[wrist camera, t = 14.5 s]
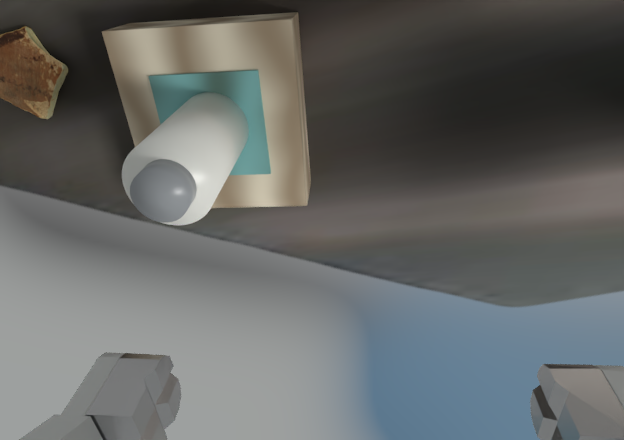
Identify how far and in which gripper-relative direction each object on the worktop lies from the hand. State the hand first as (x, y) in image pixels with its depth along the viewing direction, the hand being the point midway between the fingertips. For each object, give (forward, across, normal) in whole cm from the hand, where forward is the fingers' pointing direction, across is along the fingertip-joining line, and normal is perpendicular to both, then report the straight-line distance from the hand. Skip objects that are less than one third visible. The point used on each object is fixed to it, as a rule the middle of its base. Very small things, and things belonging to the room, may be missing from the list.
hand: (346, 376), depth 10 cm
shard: (+34, +32, 0) cm, 47 cm away
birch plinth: (+34, +12, +4) cm, 36 cm away
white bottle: (+28, +12, +4) cm, 31 cm away
